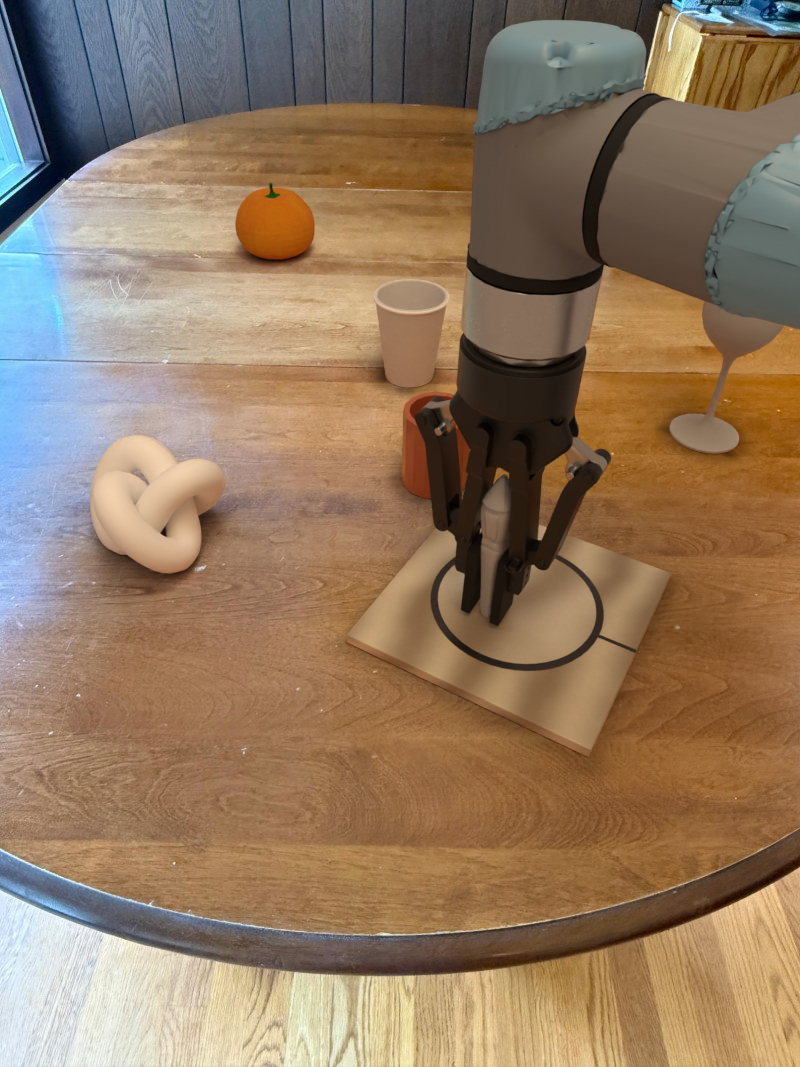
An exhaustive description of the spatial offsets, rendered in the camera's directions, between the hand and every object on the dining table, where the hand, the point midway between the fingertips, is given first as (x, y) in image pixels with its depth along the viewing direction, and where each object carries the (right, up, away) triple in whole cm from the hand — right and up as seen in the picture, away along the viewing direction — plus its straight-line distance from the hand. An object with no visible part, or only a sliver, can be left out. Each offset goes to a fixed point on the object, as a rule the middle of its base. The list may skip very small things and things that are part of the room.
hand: (486, 606), depth 61 cm
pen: (0, -1, 0) cm, 1 cm away
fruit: (-25, +49, +56) cm, 79 cm away
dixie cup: (-6, +24, +30) cm, 39 cm away
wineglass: (+26, +16, +22) cm, 38 cm away
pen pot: (-3, +11, +15) cm, 19 cm away
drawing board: (+3, 0, +2) cm, 4 cm away
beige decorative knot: (-27, +5, +8) cm, 29 cm away
